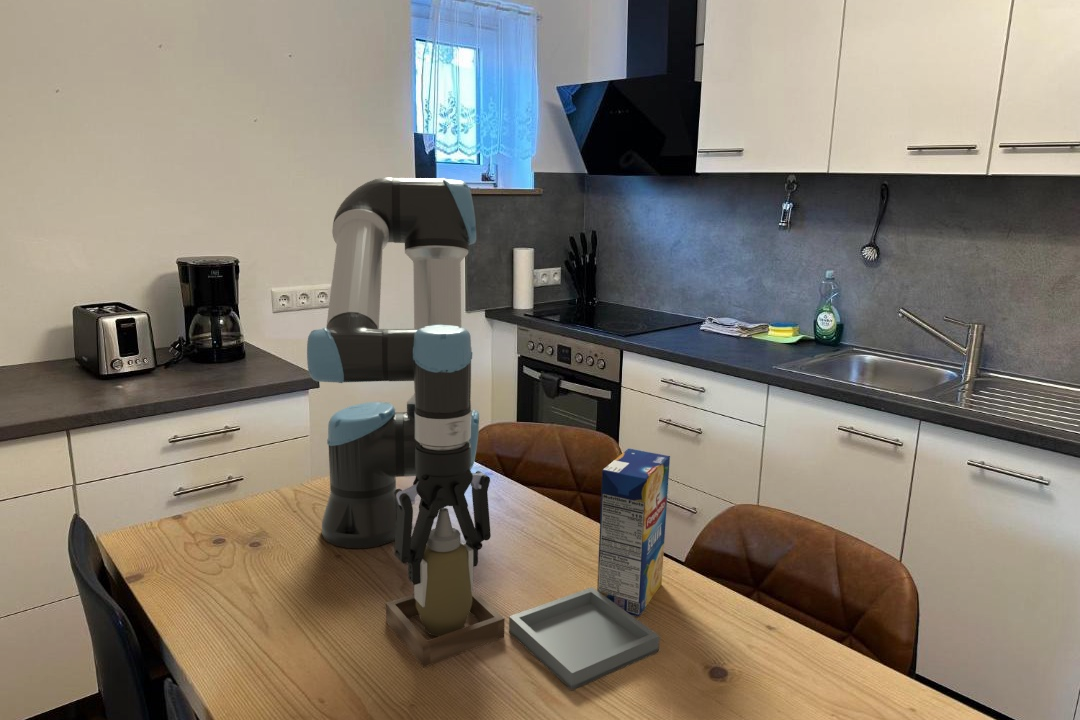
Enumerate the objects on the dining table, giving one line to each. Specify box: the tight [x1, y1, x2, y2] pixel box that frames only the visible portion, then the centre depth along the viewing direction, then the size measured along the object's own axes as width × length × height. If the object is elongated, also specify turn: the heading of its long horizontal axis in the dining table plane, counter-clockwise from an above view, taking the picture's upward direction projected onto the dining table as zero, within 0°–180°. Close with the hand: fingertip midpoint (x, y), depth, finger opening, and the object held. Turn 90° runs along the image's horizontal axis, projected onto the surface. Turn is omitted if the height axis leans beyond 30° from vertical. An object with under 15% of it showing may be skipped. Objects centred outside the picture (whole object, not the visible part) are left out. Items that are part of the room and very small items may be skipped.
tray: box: [508, 586, 661, 691], centre depth 103 cm, size 15×15×2 cm
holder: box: [385, 589, 506, 668], centre depth 105 cm, size 12×12×3 cm
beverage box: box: [596, 448, 671, 618], centre depth 113 cm, size 7×11×22 cm, turn 153°
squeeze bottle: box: [416, 507, 472, 637], centre depth 103 cm, size 8×8×18 cm
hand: (444, 594), depth 104 cm, fingers closed on squeeze bottle, 6 cm apart
